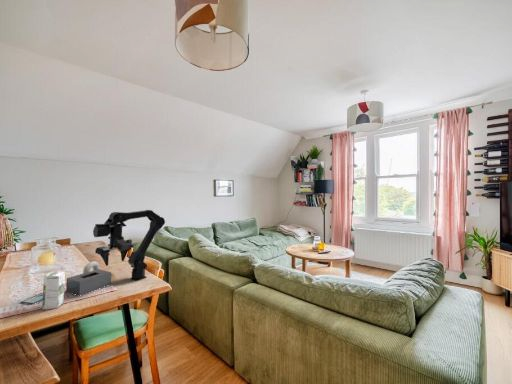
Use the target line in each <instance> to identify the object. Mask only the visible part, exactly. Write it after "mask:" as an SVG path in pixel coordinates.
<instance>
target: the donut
mask: <svg viewBox="0 0 512 384" xmlns="http://www.w3.org/2000/svg"><path fill="white" fill-rule="evenodd" d="M100 268H101V267H100V264H99V263H98V262H97V261H94V260H93V261H90V262H88V263H87V264H86V265H84V267H83V270H82V271H83V272H82V274H83V273H87V272H90V271H94V270H97V269H100ZM100 270H101V269H100Z"/></svg>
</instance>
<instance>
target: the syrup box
mask: <svg viewBox="0 0 512 384" xmlns="http://www.w3.org/2000/svg"><path fill="white" fill-rule="evenodd" d="M65 280H66V271H53V272H49V273H48V274H46V275H44V277H43V283H42V285H43V287H42V293H43V301H41V302H42V303H41V310H45V311H46V310H55V309H58V308H59V307H60V306H62V305H63V304H64V299H65V284H66V283H65V282H66V281H65Z"/></svg>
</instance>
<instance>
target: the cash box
mask: <svg viewBox="0 0 512 384" xmlns="http://www.w3.org/2000/svg"><path fill="white" fill-rule="evenodd" d="M93 275H94V276H93ZM65 280H66V281H65V282H66V283H65V284H66V287H65V292H66V293H68V292H69V293H68V294H71V293H73V294H72V295H74V294H76V295H75V296H77V295H79V296H78V297H81V296H80V295H82V296H84V295H83V294H85V295H87V294H89V292H90V293H92V292H91V291H93V292H95V291H94V290H96V291H98V290H97V289H99V288H101V289H103V288H102V287H104V286H107V285H110V284H111V285H112V272H110V271H108V270H103V269H97V270H94V271H93V270H90V272H87V273H83V272H82V273H80V274H77V275H73V276H69V277H66V279H65ZM111 285H110V286H111ZM107 287H108V286H107ZM104 288H105V287H104ZM99 290H100V289H99ZM86 293H87V294H86Z"/></svg>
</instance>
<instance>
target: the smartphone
mask: <svg viewBox="0 0 512 384" xmlns="http://www.w3.org/2000/svg"><path fill="white" fill-rule="evenodd" d="M42 300H43V292H40V293H38V294H36V295H34V296H31V297H29V298H26V299H24V300H22V301H20V302H19V304H21V305H28V306H31V305H32V304H33V305H36V304H38V303H40V302H42ZM37 302H38V303H37ZM35 303H36V304H35ZM33 305H32V306H33Z"/></svg>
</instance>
